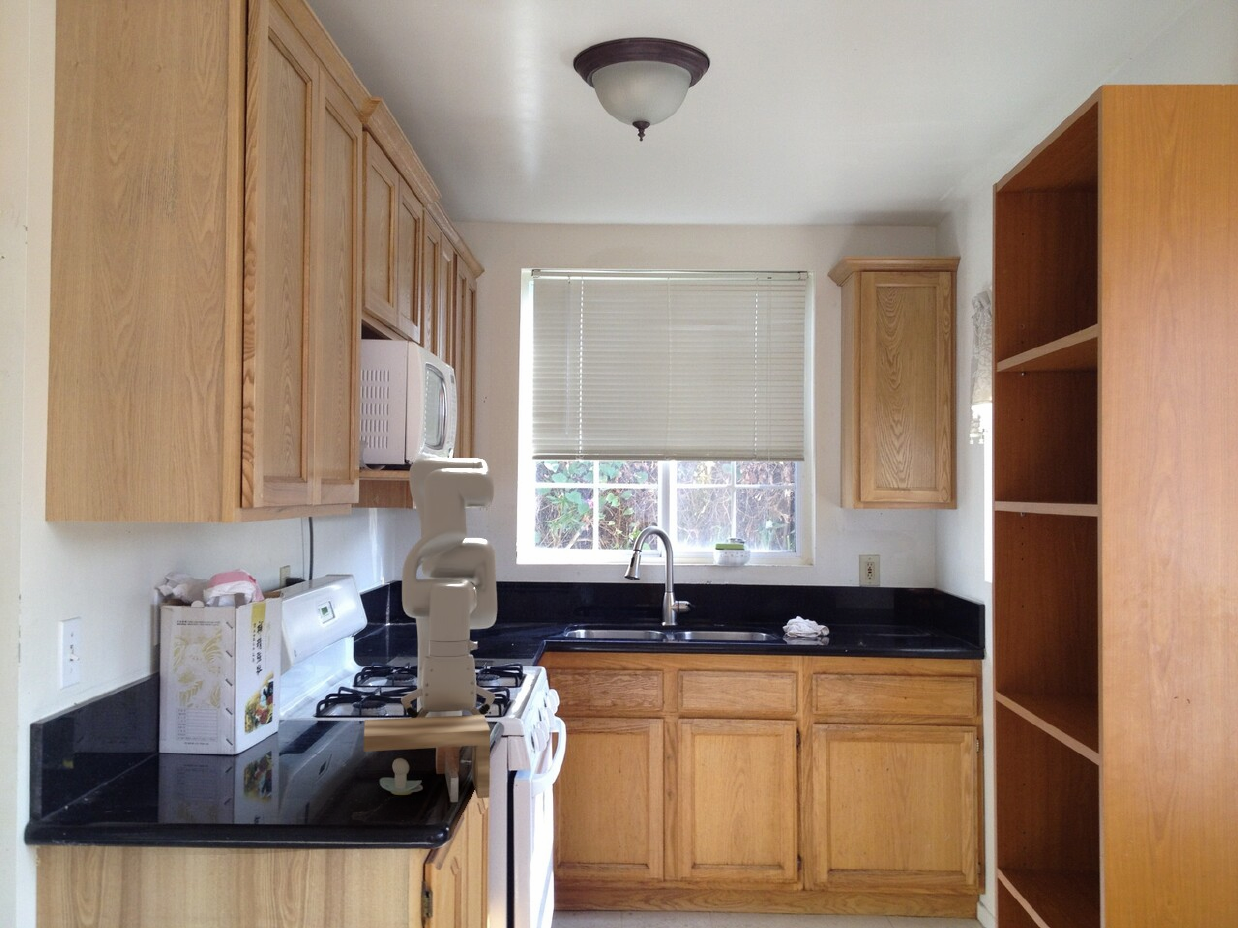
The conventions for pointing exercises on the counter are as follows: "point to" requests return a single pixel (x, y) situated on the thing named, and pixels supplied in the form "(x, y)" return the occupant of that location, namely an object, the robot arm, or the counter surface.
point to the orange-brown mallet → (449, 768)
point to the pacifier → (400, 780)
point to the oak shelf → (436, 739)
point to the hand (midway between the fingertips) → (448, 741)
